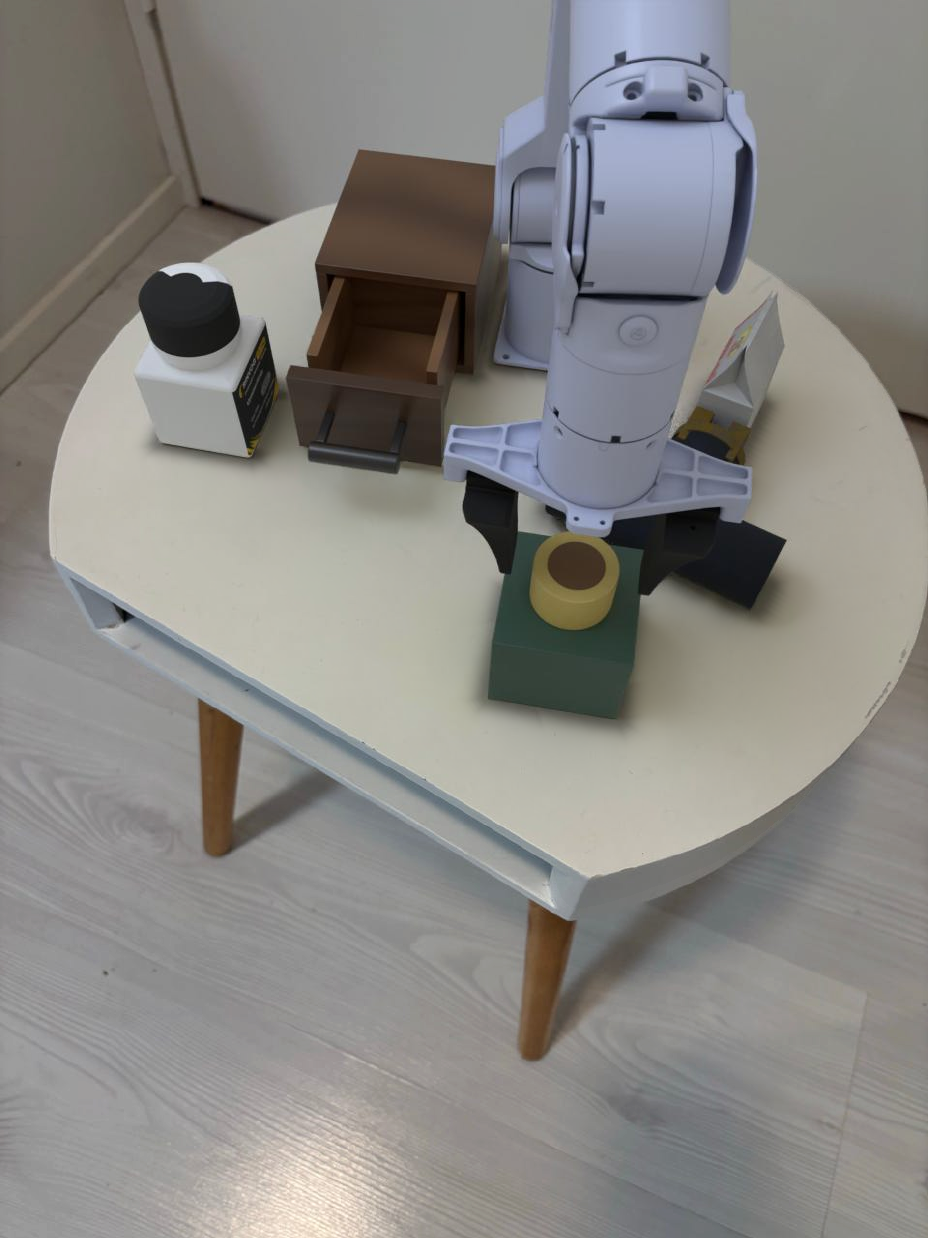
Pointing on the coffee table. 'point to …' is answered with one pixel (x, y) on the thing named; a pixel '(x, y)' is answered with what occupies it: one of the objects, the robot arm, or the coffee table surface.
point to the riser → (563, 643)
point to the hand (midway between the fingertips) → (575, 569)
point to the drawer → (378, 375)
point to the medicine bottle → (204, 362)
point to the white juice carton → (745, 368)
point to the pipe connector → (738, 546)
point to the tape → (573, 580)
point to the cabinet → (418, 233)
